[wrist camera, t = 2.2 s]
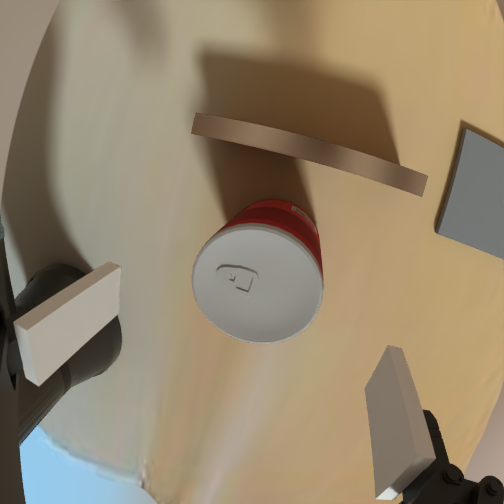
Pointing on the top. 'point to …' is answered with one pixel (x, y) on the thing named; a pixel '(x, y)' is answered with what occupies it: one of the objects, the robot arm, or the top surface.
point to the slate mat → (476, 196)
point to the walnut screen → (310, 151)
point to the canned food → (261, 274)
